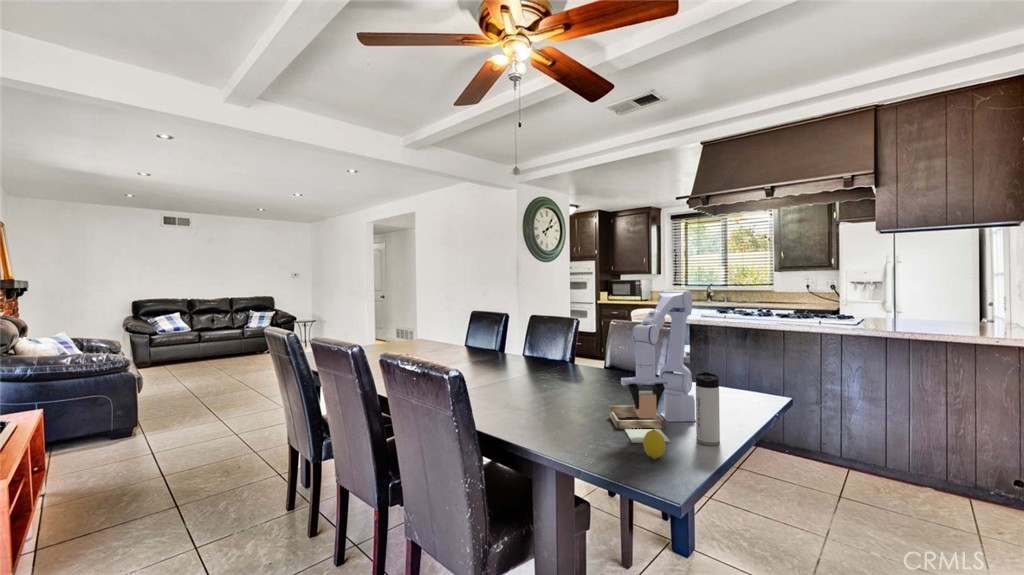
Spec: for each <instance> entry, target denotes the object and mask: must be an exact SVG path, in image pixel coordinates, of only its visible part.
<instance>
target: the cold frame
mask: <svg viewBox="0 0 1024 575" xmlns="http://www.w3.org/2000/svg"><path fill="white" fill-rule="evenodd" d="M609 417H610V419H611V421H612V422H613V424H614V426H615V428H616V429H617V430H622V429H623V430H625V429H632V428H633V429H635V428H637V429H639V428H640V429H642V428H654V429H665V419H664V418H663V417H661V416H660V415H659V414H658V413H657V418H652V419H630V420H629V419H626V417H638V416H637V414H636V408H635V405H610V406H609ZM619 418H620V419H619ZM623 418H624V419H623ZM622 419H623V420H622Z"/></svg>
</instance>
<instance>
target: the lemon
mask: <svg viewBox="0 0 1024 575" xmlns="http://www.w3.org/2000/svg"><path fill="white" fill-rule="evenodd" d="M654 429H655V428H654ZM654 429H653V430H652V431H649V432H647V433H646V435H645V437H644V441H643V444H642V445H643V450H644V451H645V453H646V454H647V456H648V457H650V458H652V459H653V460H656V459H657V458H660V457H662V456H663V454H664V453H665V451H666V442H665V441H664V438H663V436H662V435H661V433H659V432H658V431H656V430H654Z"/></svg>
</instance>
